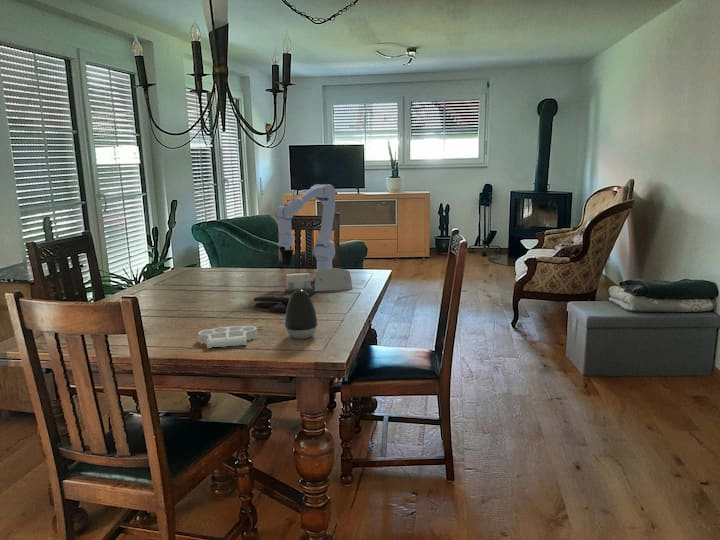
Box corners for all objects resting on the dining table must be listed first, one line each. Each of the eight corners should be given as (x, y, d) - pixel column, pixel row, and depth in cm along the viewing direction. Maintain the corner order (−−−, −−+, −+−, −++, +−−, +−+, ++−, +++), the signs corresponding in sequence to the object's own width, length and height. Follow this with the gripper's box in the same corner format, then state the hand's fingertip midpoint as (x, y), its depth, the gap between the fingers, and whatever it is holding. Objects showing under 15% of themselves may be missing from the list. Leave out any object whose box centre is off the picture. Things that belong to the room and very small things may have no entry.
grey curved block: (314, 291, 234) (313, 268, 235) (314, 292, 238) (313, 269, 240) (353, 289, 235) (351, 266, 237) (352, 290, 240) (351, 268, 241)
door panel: (287, 287, 237) (286, 274, 235) (309, 286, 239) (309, 272, 238) (287, 289, 234) (286, 275, 233) (310, 287, 236) (310, 274, 235)
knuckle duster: (196, 352, 162) (200, 337, 176) (257, 346, 166) (256, 332, 180) (195, 341, 161) (199, 327, 176) (257, 336, 165) (256, 322, 179)
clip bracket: (285, 289, 239) (285, 280, 238) (310, 287, 241) (310, 278, 241) (287, 292, 232) (286, 283, 231) (312, 290, 235) (312, 281, 234)
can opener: (295, 310, 205) (294, 295, 204) (283, 314, 200) (282, 299, 198) (261, 304, 215) (260, 290, 214) (248, 308, 210) (247, 294, 208)
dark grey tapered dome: (322, 338, 170) (320, 291, 167) (289, 343, 167) (287, 295, 164) (313, 329, 179) (311, 284, 177) (282, 333, 176) (280, 288, 173)
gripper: (274, 231, 245) (276, 261, 248) (277, 235, 231) (279, 267, 234) (290, 231, 246) (291, 260, 249) (294, 234, 233) (295, 266, 235)
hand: (286, 263), depth 242 cm, fingers open, 7 cm apart
